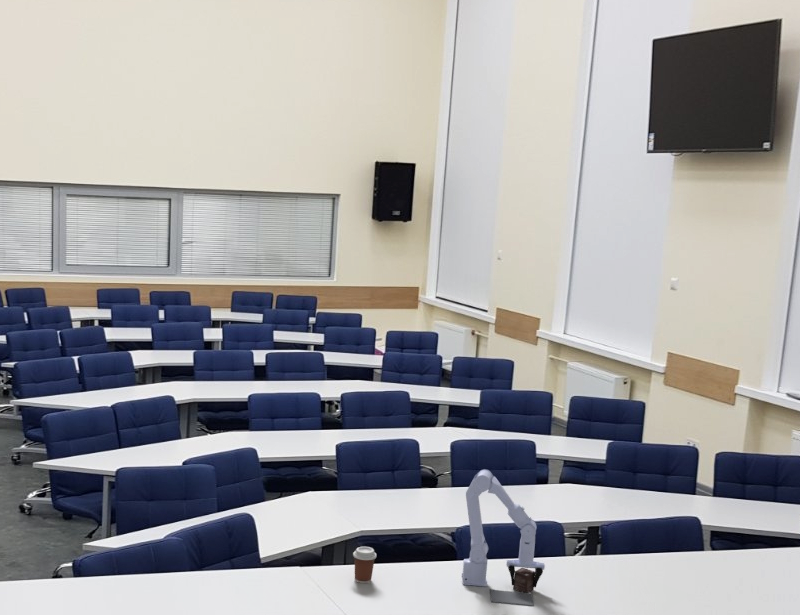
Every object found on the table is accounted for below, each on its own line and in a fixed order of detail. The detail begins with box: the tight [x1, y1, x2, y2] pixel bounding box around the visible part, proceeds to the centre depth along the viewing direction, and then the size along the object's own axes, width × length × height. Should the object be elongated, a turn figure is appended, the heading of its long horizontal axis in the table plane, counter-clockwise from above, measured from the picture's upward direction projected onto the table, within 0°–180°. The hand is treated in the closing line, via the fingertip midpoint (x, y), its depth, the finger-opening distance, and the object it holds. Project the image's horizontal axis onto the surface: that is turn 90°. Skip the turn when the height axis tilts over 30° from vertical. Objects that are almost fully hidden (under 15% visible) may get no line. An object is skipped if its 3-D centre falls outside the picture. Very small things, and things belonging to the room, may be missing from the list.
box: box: [512, 567, 535, 593], centre depth 373 cm, size 6×6×7 cm
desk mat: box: [489, 589, 535, 607], centre depth 364 cm, size 16×11×1 cm
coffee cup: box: [352, 546, 377, 584], centre depth 370 cm, size 9×9×12 cm
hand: (523, 585), depth 373 cm, fingers closed on box, 7 cm apart
